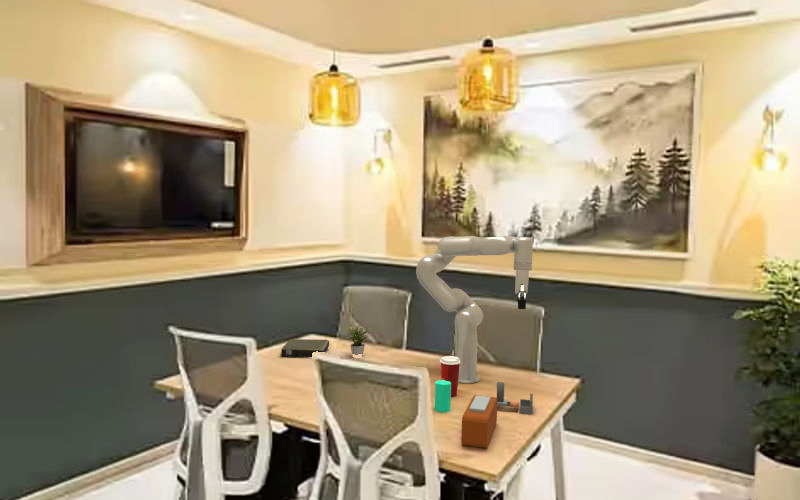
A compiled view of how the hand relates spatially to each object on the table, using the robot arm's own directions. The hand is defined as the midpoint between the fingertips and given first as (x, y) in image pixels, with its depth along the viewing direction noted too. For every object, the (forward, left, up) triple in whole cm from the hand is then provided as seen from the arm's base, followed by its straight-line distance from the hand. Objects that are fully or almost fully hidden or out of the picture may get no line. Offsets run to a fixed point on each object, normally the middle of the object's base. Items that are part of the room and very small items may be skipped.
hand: (521, 306), depth 253 cm
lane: (-7, -28, -35) cm, 45 cm away
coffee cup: (-27, -18, -35) cm, 48 cm away
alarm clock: (-11, -56, -35) cm, 67 cm away
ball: (-1, -28, -33) cm, 43 cm away
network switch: (-107, +27, -35) cm, 116 cm away
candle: (-27, -36, -35) cm, 57 cm away
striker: (-6, -28, -35) cm, 45 cm away
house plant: (-79, +25, -35) cm, 90 cm away
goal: (+4, -28, -35) cm, 44 cm away
